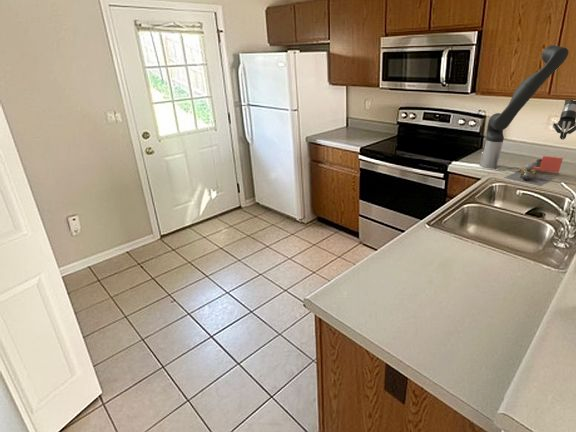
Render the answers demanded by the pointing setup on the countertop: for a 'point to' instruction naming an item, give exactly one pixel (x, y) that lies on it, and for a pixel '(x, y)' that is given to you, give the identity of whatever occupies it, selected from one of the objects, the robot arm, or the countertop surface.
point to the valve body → (527, 174)
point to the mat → (536, 180)
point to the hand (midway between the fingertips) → (562, 138)
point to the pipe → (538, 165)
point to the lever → (547, 164)
